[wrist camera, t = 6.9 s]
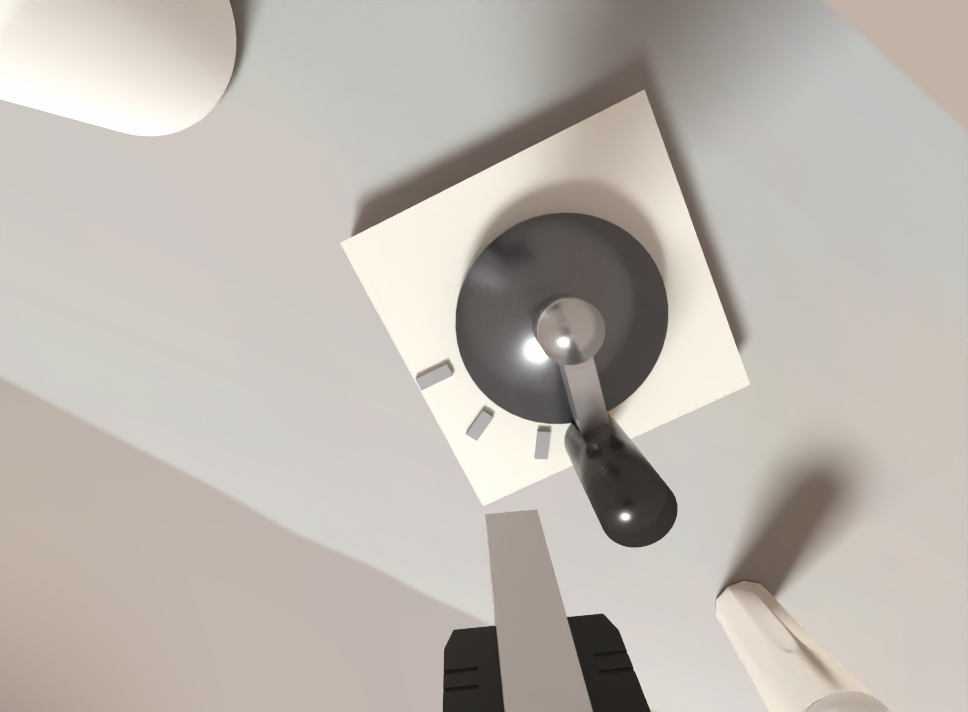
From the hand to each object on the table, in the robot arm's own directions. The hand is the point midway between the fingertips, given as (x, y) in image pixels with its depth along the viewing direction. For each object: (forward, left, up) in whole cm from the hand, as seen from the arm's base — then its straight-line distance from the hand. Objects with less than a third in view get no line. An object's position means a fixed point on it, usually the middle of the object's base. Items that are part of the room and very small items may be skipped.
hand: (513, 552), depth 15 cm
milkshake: (+17, +8, -12) cm, 23 cm away
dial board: (-4, +5, -11) cm, 13 cm away
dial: (-2, +5, -9) cm, 10 cm away
